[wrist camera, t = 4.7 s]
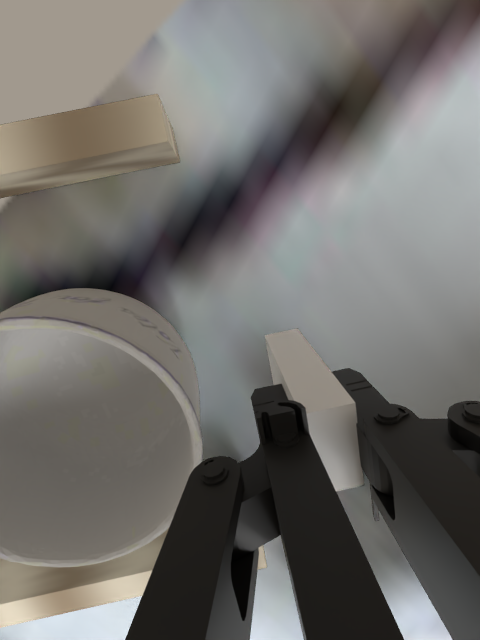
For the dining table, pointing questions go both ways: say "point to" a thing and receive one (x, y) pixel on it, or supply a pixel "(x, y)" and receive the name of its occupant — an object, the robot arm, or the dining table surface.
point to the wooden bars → (53, 171)
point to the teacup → (92, 427)
